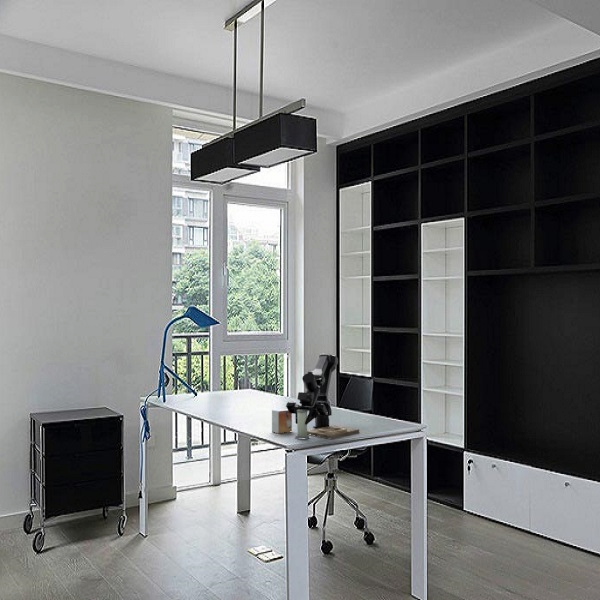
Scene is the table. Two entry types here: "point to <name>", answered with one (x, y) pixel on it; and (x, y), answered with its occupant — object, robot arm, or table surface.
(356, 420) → the table surface
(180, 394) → the table surface
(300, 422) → the bobbin
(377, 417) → the table surface
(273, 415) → the small box
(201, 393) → the table surface
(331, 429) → the notched board
